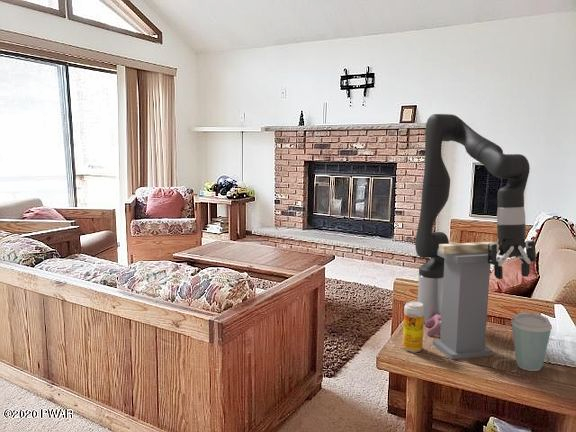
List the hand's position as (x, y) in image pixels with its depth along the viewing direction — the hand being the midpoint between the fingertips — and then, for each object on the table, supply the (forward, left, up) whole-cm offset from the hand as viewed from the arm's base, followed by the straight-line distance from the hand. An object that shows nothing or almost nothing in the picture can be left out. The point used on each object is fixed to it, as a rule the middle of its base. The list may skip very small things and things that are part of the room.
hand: (512, 277), depth 136 cm
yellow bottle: (0, -27, -26) cm, 38 cm away
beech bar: (-6, -9, +6) cm, 12 cm away
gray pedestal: (-4, -12, -26) cm, 29 cm away
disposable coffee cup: (+2, +6, -26) cm, 27 cm away
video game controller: (-17, -21, -26) cm, 38 cm away
